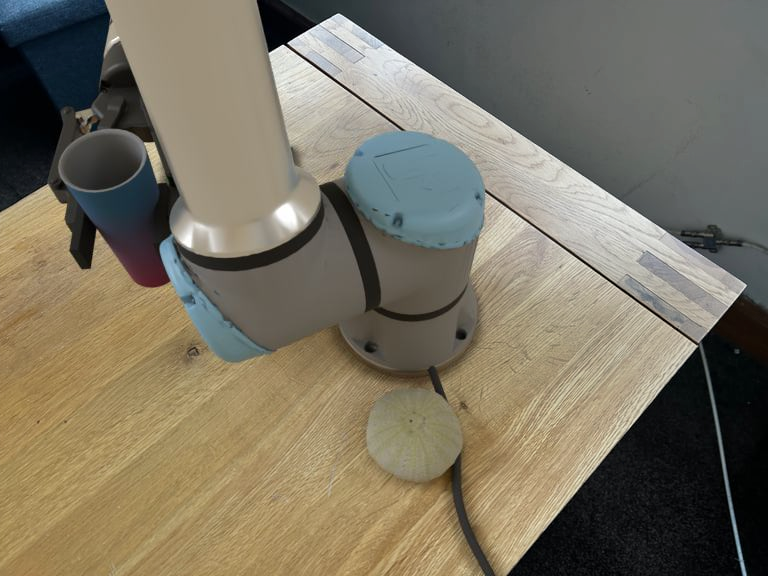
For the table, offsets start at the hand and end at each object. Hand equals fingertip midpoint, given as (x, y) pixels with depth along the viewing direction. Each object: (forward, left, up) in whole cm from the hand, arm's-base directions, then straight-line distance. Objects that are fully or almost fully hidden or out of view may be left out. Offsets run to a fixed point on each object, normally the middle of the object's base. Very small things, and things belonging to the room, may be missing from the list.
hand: (121, 256), depth 54 cm
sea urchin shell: (-13, -23, -18) cm, 32 cm away
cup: (+5, 0, -9) cm, 11 cm away
